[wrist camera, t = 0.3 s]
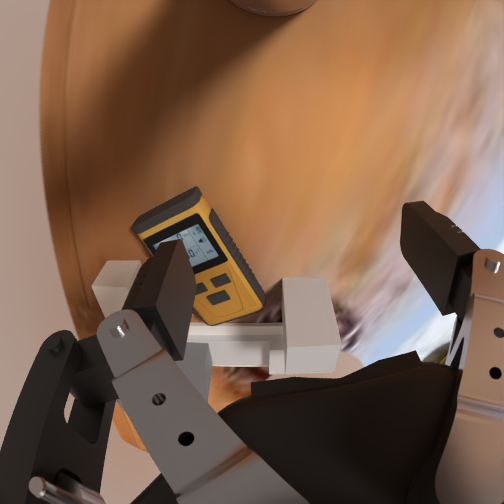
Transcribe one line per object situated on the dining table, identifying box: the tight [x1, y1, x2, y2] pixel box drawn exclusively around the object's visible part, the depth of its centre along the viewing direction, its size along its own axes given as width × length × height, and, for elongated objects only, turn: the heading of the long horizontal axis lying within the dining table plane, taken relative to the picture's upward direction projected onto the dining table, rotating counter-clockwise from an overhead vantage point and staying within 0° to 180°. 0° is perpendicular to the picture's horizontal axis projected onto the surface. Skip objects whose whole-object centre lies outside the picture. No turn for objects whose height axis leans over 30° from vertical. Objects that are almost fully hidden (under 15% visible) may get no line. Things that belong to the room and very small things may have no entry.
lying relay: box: [92, 260, 142, 318], centre depth 35 cm, size 10×4×5 cm, turn 2°
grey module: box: [281, 277, 341, 374], centre depth 32 cm, size 5×5×10 cm
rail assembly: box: [116, 322, 285, 415], centre depth 37 cm, size 9×24×12 cm, turn 92°
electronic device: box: [132, 187, 265, 326], centre depth 33 cm, size 8×16×3 cm, turn 26°
